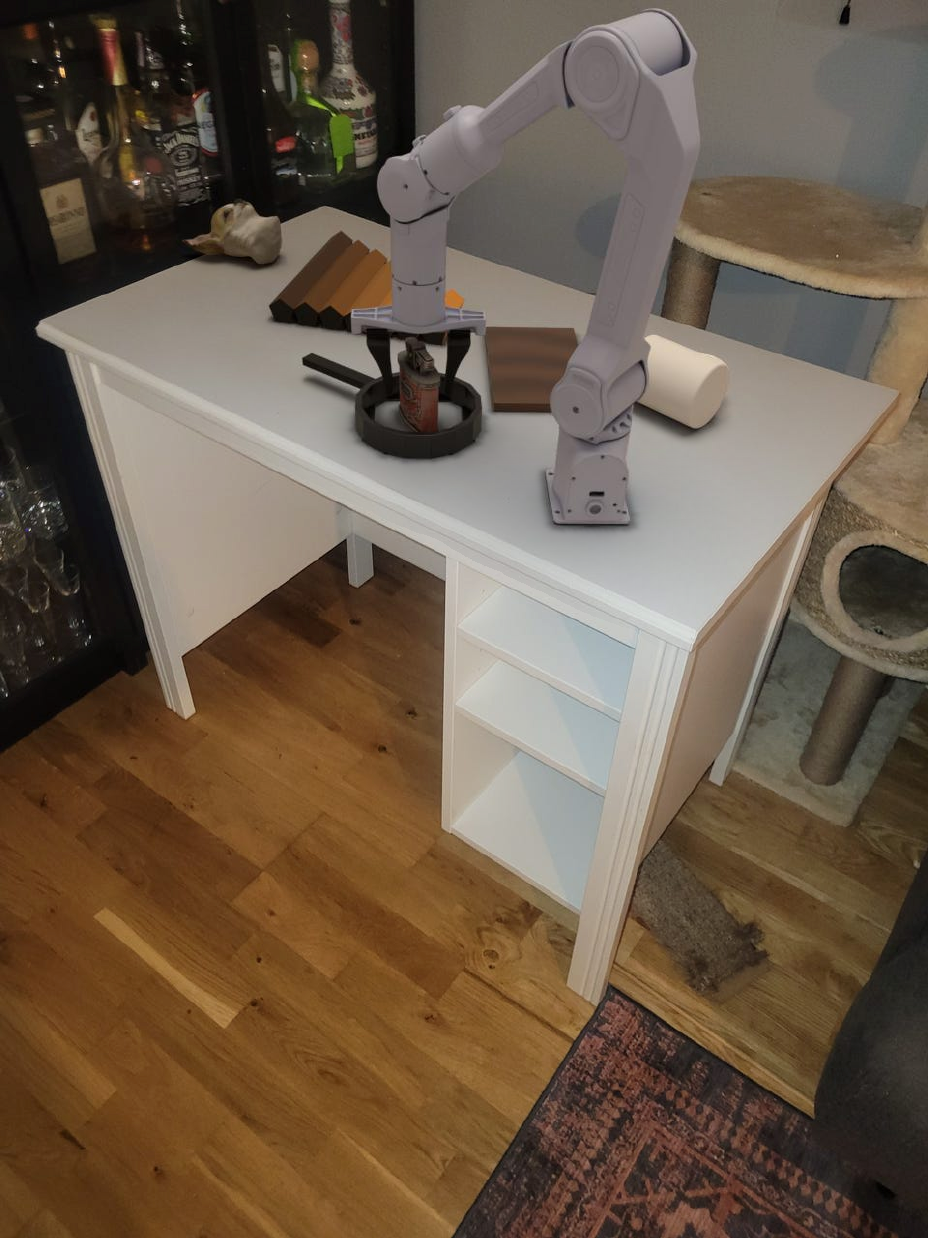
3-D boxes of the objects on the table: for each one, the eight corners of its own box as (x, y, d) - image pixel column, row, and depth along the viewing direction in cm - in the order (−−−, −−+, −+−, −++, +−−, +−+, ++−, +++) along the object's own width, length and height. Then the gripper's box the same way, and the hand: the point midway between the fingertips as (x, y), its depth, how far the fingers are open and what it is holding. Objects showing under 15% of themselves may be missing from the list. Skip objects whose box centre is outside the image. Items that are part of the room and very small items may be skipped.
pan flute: (331, 250, 148) (270, 320, 130) (330, 229, 146) (267, 296, 128) (487, 271, 144) (446, 345, 127) (488, 249, 142) (446, 321, 124)
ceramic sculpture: (253, 216, 134) (171, 202, 140) (263, 277, 140) (183, 261, 145) (297, 194, 141) (217, 182, 147) (304, 253, 147) (227, 239, 152)
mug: (684, 439, 112) (698, 377, 106) (616, 406, 116) (626, 346, 111) (739, 403, 118) (755, 343, 113) (673, 374, 123) (685, 315, 118)
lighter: (392, 409, 114) (390, 331, 107) (418, 404, 115) (418, 326, 108) (418, 444, 109) (418, 364, 102) (445, 438, 110) (447, 358, 103)
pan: (483, 458, 107) (484, 435, 105) (289, 457, 106) (287, 433, 104) (476, 376, 121) (477, 354, 119) (305, 374, 120) (303, 352, 118)
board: (592, 412, 115) (593, 403, 114) (493, 411, 115) (493, 402, 114) (572, 335, 130) (573, 327, 129) (485, 334, 129) (485, 326, 129)
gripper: (485, 259, 103) (480, 373, 112) (351, 257, 102) (356, 372, 112) (489, 287, 98) (483, 404, 107) (347, 285, 97) (353, 403, 107)
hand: (418, 390), depth 109 cm, fingers open, 6 cm apart
